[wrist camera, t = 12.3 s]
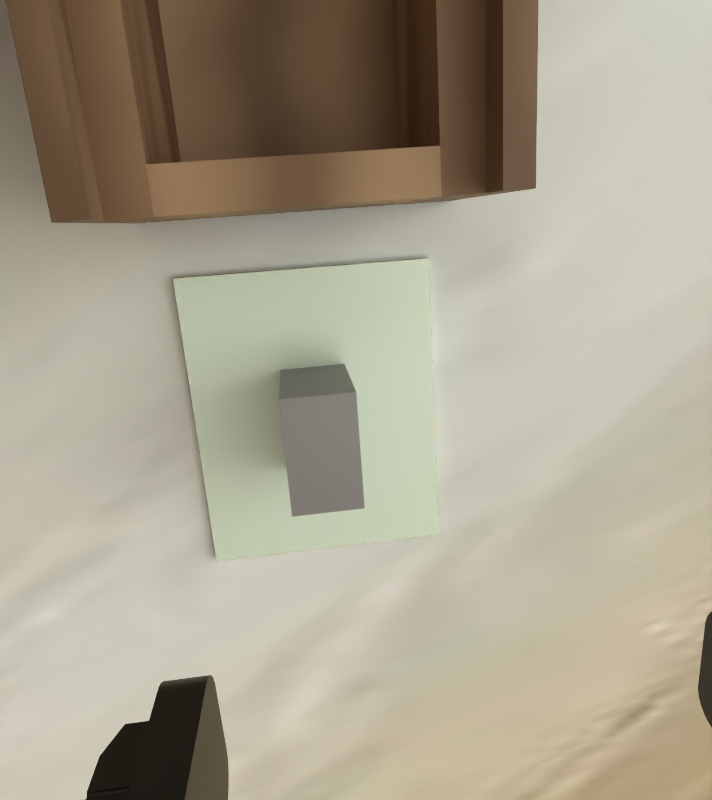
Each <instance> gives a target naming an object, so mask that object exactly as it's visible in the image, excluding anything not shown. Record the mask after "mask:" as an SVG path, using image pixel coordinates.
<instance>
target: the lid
mask: <svg viewBox="0 0 712 800" xmlns="http://www.w3.org/2000/svg"><path fill="white" fill-rule="evenodd" d="M173 283H174V289H175V296H176V302H177V309H178V315H179V321H180V328H181V334H182V341H183V347H184V354H185V360H186V367H187V373H188V380H189V386H190V393H191V399H192V406H193V412H194V419H195V425H196V432H197V438H198V445H199V451H200V458H201V464H202V471H203V477H204V484H205V490H206V497H207V503H208V509H209V516H210V522H211V529H212V535H213V542H214V548H215V555H216V561H222V560H230V559H238V558H247V557H255V556H264V555H272V554H280V553H289V552H297V551H305V550H314V549H322V548H330V547H339V546H347V545H355V544H364V543H372V542H381V541H389V540H397V539H406V538H414V537H422V536H431V535H439V529H438V500H437V472H436V443H435V414H434V386H433V357H432V328H431V299H430V271H429V258H421V259H409V260H396V261H383V262H371V263H358V264H346V265H333V266H321V267H308V268H295V269H283V270H270V271H258V272H245V273H233V274H220V275H207V276H195V277H182V278H174V279H173Z"/></svg>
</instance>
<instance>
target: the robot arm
mask: <svg viewBox="0 0 712 800" xmlns="http://www.w3.org/2000/svg"><path fill="white" fill-rule="evenodd" d="M698 692H699V699H700V703H701V706H702V709H703V712H704V714H705V716H706V718H707V720H708V722H709V724H710V725H711V727H712V612H711V613H709V615H708V616H707V619H706V623H705V631H704V640H703V649H702V658H701V666H700V675H699V684H698ZM86 800H228V758H227V750H226V744H225V738H224V733H223V727H222V721H221V716H220V710H219V704H218V699H217V693H216V687H215V683H214V679H213V677H212V676H211V675H209V676H201V677H194V678H186V679H178V680H171V681H164V682H162V683H161V684H160V686H159V689H158V692H157V695H156V699H155V702H154V706H153V709H152V713H151V716H150V720H149V721H145V722H138V723H130V724H125V725H124V726H123V728H122V729H121V730H120V731H119V733H118V734H117V735H116V736H115V738H114V739H113V740H112V741H111V743H110V744H109V745H108V747H107V748H106V749H105V750H104V752H103V753H102V754H101V755H100V757H99V760H98V763H97V766H96V768H95V771H94V774H93V777H92V779H91V782H90V785H89V788H88V791H87V799H86Z"/></svg>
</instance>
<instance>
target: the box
mask: <svg viewBox="0 0 712 800" xmlns="http://www.w3.org/2000/svg"><path fill="white" fill-rule="evenodd" d="M6 3H7V8H8V13H9V18H10V23H11V27H12V32H13V37H14V42H15V47H16V52H17V57H18V61H19V66H20V71H21V76H22V81H23V86H24V91H25V95H26V100H27V105H28V110H29V115H30V120H31V125H32V129H33V134H34V139H35V144H36V149H37V154H38V159H39V164H40V168H41V173H42V178H43V183H44V188H45V193H46V198H47V202H48V207H49V212H50V217H51V222H61V223H143V222H157V221H171V220H185V219H198V218H212V217H226V216H240V215H254V214H268V213H282V212H296V211H310V210H324V209H338V208H352V207H366V206H380V205H394V204H408V203H422V202H436V201H450V200H458V199H465V198H472V197H479V196H485V195H492V194H499V193H506V192H513V191H520V190H527V189H534V188H536V126H537V54H538V0H6Z"/></svg>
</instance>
